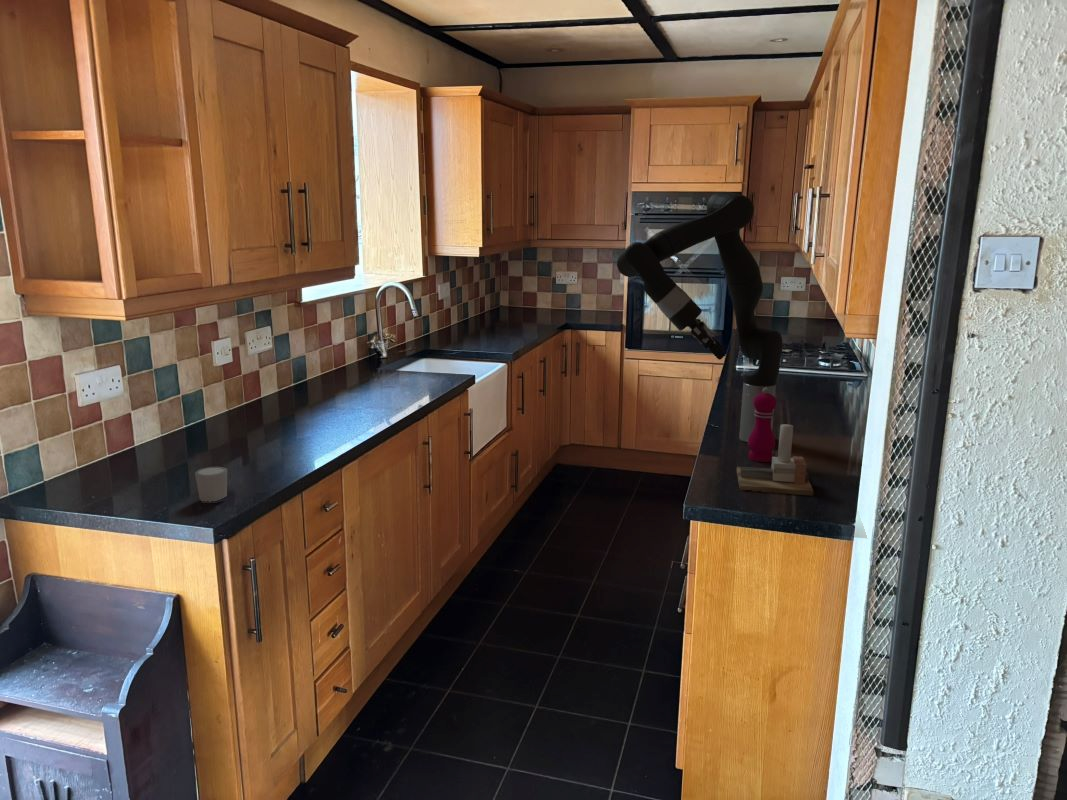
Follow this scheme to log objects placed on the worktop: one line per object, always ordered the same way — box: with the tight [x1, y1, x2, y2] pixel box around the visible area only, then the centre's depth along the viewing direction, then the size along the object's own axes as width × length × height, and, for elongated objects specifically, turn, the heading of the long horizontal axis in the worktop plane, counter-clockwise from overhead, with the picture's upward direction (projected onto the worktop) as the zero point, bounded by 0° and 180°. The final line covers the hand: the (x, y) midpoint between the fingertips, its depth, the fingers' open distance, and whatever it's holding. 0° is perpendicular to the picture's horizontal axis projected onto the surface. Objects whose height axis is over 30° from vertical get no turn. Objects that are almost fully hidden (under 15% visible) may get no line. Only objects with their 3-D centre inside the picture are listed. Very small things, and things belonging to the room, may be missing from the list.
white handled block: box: [770, 423, 796, 482], centre depth 193 cm, size 6×5×13 cm
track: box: [736, 455, 814, 496], centre depth 195 cm, size 15×17×6 cm
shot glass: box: [194, 466, 228, 502], centre depth 178 cm, size 7×7×7 cm
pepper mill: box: [747, 388, 777, 463], centre depth 213 cm, size 7×7×20 cm
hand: (722, 354), depth 198 cm, fingers open, 8 cm apart
